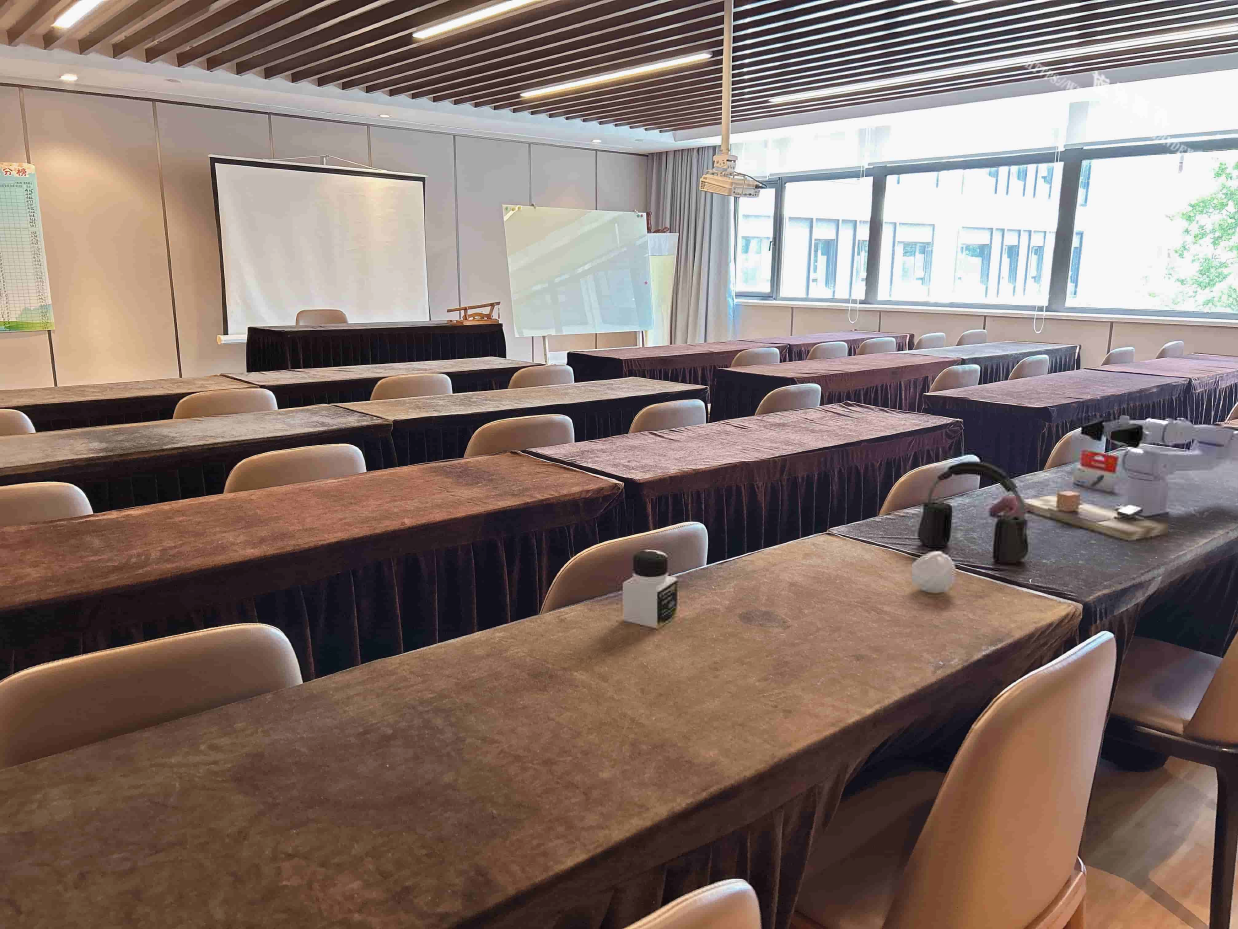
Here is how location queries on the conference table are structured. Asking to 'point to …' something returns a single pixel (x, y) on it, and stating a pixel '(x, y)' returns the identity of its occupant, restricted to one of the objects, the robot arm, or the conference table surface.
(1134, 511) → the rocker switch
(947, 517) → the headphones
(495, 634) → the conference table surface
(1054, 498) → the control panel
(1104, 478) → the ink cartridge box
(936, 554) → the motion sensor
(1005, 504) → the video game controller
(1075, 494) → the slide paddle
